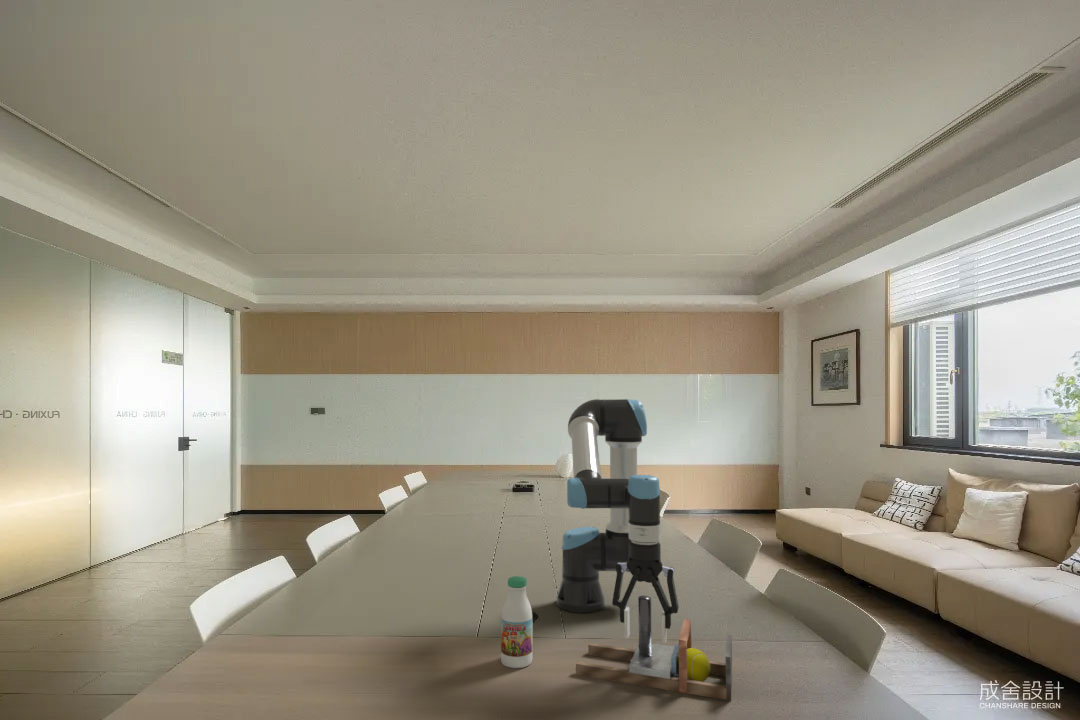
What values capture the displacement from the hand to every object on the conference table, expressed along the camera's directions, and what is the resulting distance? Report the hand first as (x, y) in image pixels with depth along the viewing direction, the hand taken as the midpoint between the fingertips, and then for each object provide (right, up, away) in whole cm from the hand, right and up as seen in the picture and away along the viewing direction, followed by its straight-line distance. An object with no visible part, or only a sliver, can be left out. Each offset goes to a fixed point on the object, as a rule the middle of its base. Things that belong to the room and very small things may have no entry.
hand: (645, 639), depth 134 cm
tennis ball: (+10, -8, -4) cm, 14 cm away
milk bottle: (-31, -8, +5) cm, 32 cm away
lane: (+2, -8, -1) cm, 8 cm away
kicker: (+2, -8, -1) cm, 8 cm away
